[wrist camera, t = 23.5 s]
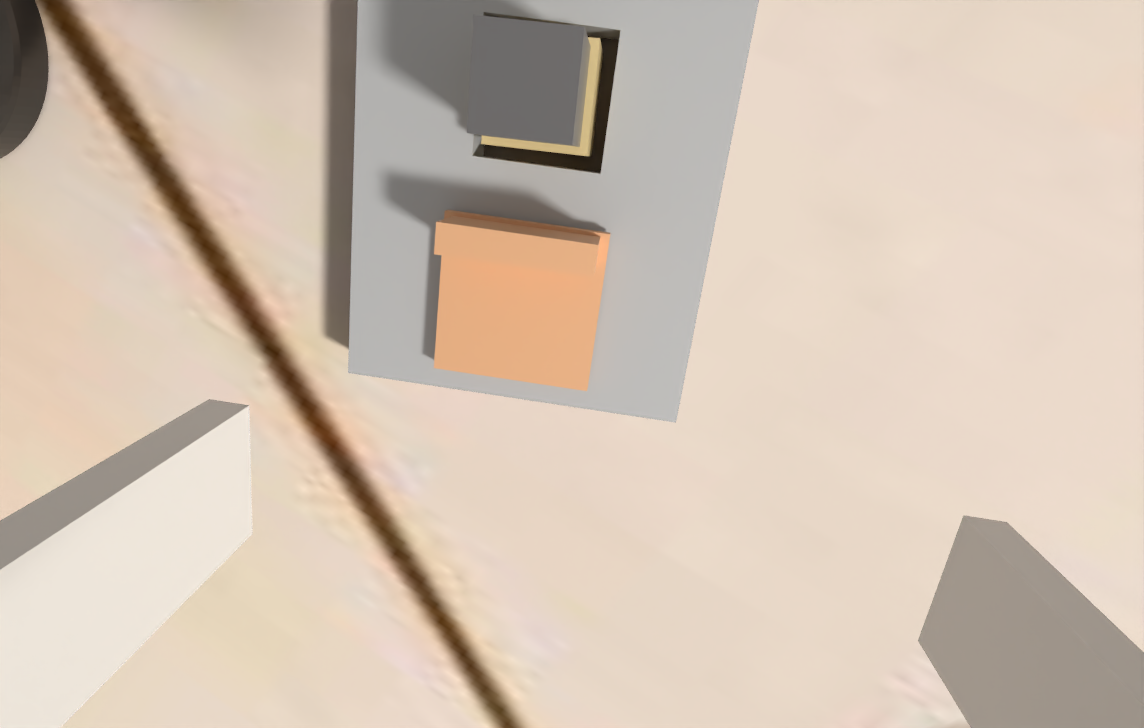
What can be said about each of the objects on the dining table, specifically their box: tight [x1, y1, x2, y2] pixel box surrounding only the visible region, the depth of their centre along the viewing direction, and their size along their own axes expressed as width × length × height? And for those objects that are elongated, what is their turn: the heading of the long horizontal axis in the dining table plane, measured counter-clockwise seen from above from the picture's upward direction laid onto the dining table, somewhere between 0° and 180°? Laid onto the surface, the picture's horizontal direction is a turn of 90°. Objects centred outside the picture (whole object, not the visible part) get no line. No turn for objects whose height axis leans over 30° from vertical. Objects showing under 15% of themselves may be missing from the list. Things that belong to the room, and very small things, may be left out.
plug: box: [467, 15, 603, 156], centre depth 32 cm, size 5×5×10 cm
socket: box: [348, 0, 759, 422], centre depth 37 cm, size 20×26×3 cm
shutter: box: [434, 210, 611, 391], centre depth 35 cm, size 9×9×4 cm
